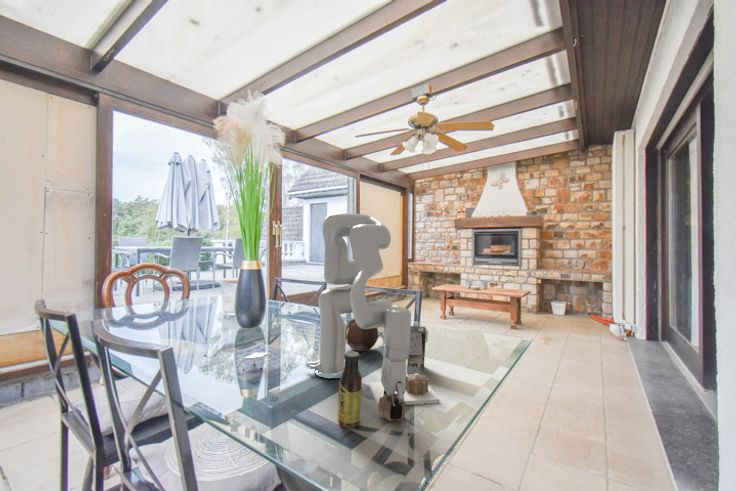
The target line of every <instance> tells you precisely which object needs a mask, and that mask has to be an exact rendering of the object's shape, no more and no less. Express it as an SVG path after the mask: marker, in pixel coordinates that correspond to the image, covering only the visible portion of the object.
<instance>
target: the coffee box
mask: <svg viewBox="0 0 736 491" xmlns="http://www.w3.org/2000/svg"><path fill="white" fill-rule="evenodd" d="M426 331H427V327H426V326H417V325H416V326H413V325H412V326H411V328H410V344H409V358H408V359H407V360H406V374H415V373H418V374H420V375H423V376H424V368H425V359H426V358H425V355H426V337H427V336H426V333H427V332H426Z"/></svg>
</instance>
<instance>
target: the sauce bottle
mask: <svg viewBox="0 0 736 491" xmlns="http://www.w3.org/2000/svg"><path fill="white" fill-rule="evenodd" d="M359 360H360V352H359V351H356V350H353V351H352V350H349V351H345V364H344V366H345V367H344V371H343V373H342V376H341V378H340V379H339V383H338V402H337V403H338V407H337V420H338V424H339V425H340V426H341V427H342V428H348V429H350V428H355V427H358V425H359V424H360V421H361V407H362V390H363V387H362V382H363V379H362V374H361V372H360V371H359Z"/></svg>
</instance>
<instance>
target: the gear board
mask: <svg viewBox="0 0 736 491" xmlns="http://www.w3.org/2000/svg"><path fill="white" fill-rule="evenodd" d="M368 386H369V390H370V391H371V394H372V396H373V398H374V401H375V403H376V405H377V407H379V399H380V397H383V396H384V387H383V385H382V383H381V381H372V382H370V381H369V382H368ZM395 394H397V391H395ZM403 396H404V401H406V406H408V405H410V406H411V405H425V404H424V403H429V404H439V403H440V397H438V395H437V394H436V393H435V392H434V391H433V389H432V388H431V387H430V385H429V378H427V376H426V375H424V374H423V375H420V374H418V373H415V374H412V373H407V375H406V387H405V394H404V395H403Z"/></svg>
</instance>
